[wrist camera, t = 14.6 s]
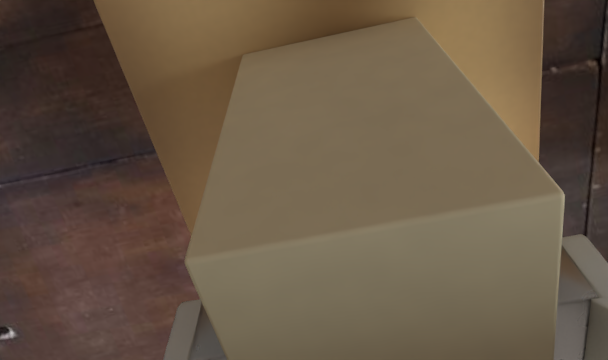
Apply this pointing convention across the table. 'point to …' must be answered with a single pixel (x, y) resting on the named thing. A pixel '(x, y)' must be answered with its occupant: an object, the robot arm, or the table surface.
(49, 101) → the table surface
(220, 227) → the carton
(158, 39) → the stand
